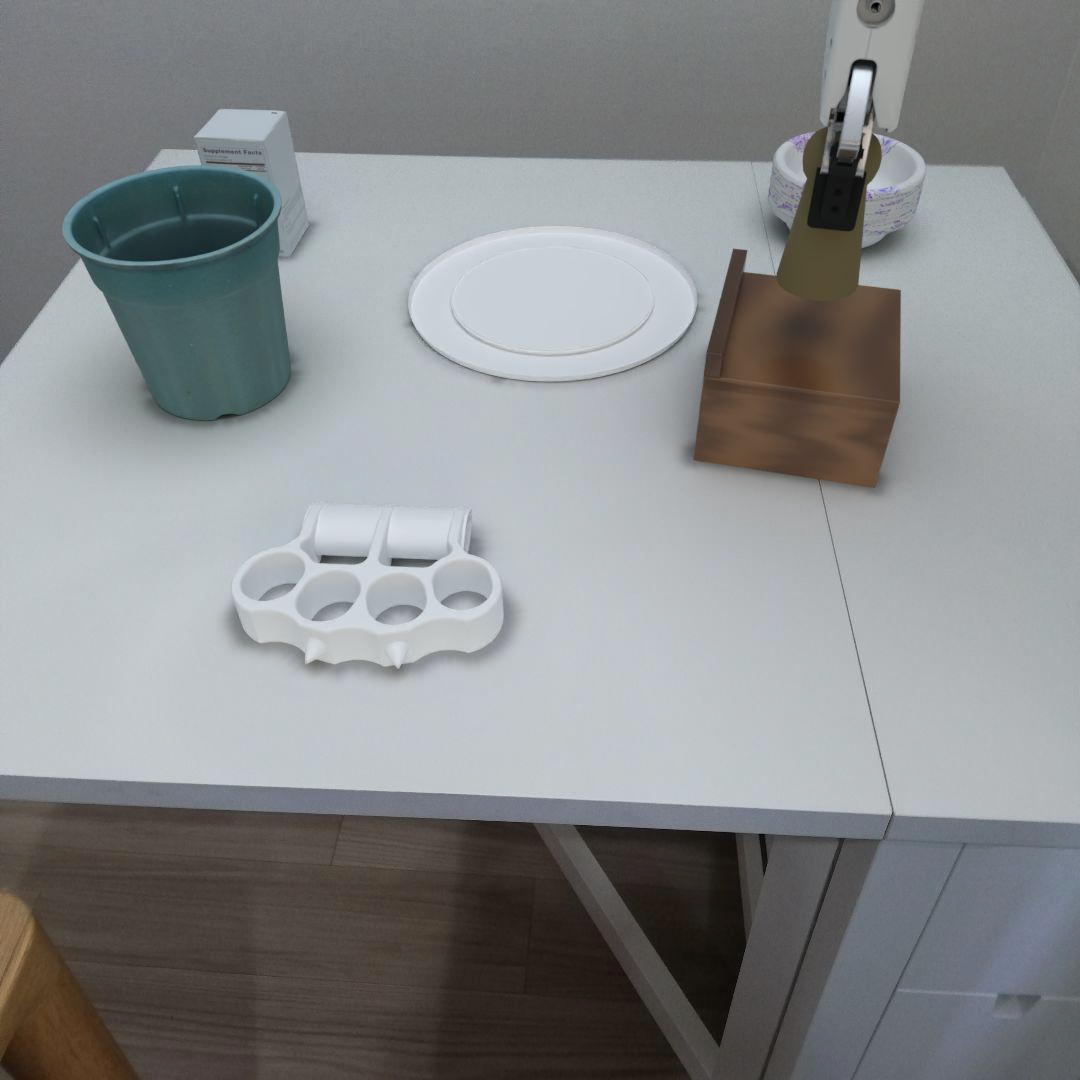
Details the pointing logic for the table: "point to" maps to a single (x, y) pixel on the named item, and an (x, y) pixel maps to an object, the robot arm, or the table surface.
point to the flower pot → (191, 283)
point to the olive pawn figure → (824, 237)
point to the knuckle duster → (372, 585)
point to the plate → (552, 303)
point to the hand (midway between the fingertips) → (832, 205)
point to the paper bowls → (886, 194)
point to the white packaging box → (259, 160)
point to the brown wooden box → (800, 380)
